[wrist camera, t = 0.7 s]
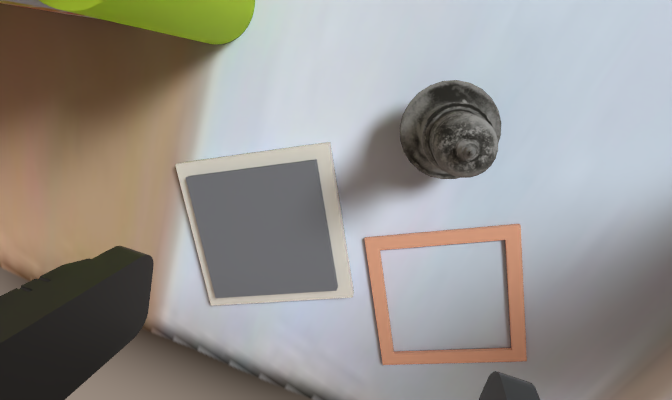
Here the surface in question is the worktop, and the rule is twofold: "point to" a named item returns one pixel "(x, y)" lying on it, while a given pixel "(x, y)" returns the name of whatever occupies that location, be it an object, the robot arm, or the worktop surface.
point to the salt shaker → (451, 130)
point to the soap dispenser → (170, 16)
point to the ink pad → (268, 225)
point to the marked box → (444, 238)
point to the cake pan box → (37, 6)
